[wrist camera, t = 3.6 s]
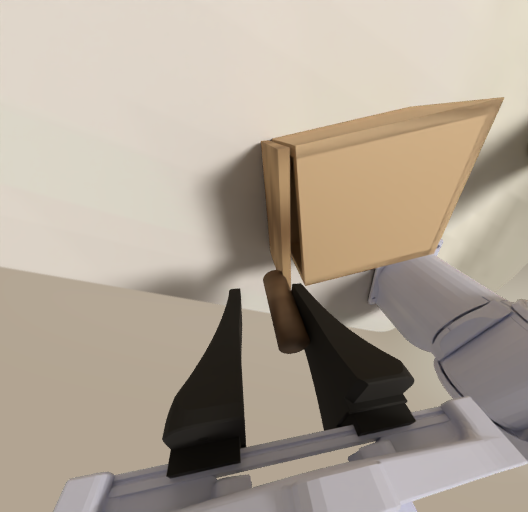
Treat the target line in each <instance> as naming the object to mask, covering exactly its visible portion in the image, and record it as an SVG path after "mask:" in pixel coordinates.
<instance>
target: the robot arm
mask: <svg viewBox="0 0 528 512" xmlns="http://www.w3.org/2000/svg"><path fill="white" fill-rule="evenodd" d="M442 244H443V240H442V239H440V241H439V244H438V246H437V248H436V250H435V253H434V254H430V255H426V256H422V257H418V258H414V259H411V260H407V261H403V262H399V263H395V264H391V265H387V266H383V267H379V268H376V269H375V273H374V278H373V282H372V286H371V291H370V295H369V299H368V303H369V304H370V305H372V304H377V306H378V307H379V308H380V309H381V310H382V312H383V313H384V314H385V315H386V316H387V318H388V319H389V320H390V321H391V322H392V323H393V325H394V326H395V327H396V328H397V329H398V331H399V332H400V333H401V334H402V335H403V337H404V338H406V340H407V341H409V342H410V343H411V344H413V345H414V346H416V347H418V348H420V349H422V350H425V351H427V352H431V353H432V354H433V355H434V356H435V357H436V358H435V359H434V367H435V371H436V373H437V375H438V378H439V380H440V381H441V383H442V385H443V386H444V388H445V389H446V391H447V392H448V393H449V394H450V396H452V398H453V399H452V400H449V401H446V402H445V403H443V404H441V406H439V407H434V408H430V409H425V410H420V411H415V412H410V410H409V409H408V407H407V405H406V404H405V403H406V402H407V400H406V398H405V396H404V395H403V393H404V392H405V391H406V390H407V389H408V388H409V387H411V386H412V385H413V383H414V378H413V377H412V375H411V374H410V373H409V371H408V370H407V368H406V367H405V366H404V365H403V363H402V362H401V361H400V360H398V359H396V358H395V357H393V356H391V355H389V354H387V353H385V352H383V351H382V350H380V349H378V348H377V347H375V346H373V345H372V344H370V343H368V342H367V341H365V340H364V339H362V338H360V337H359V336H358V335H356V334H355V333H353V332H352V331H351V330H349V329H348V328H347V327H345V326H344V325H343V324H342V323H340V322H339V321H338V320H337V319H336V318H334V317H333V316H332V315H331V314H330V313H329V312H328V311H327V310H326V309H325V308H324V307H323V306H322V305H321V304H320V303H319V302H318V301H317V300H316V299H315V298H314V297H313V296H312V295H311V294H310V293H309V292H308V291H307V290H306V288H305V287H304V286H303V285H302V284H301V283H300V284H292V290H291V292H292V295H293V297H294V300H295V303H296V305H297V308H298V310H299V313H300V315H301V318H302V320H303V323H304V326H305V328H306V331H307V333H308V336H309V339H310V344H309V345H308V346H307V347H306V348H305V349H304V350H305V353H306V356H307V360H308V363H309V367H310V371H311V375H312V379H313V382H314V387H315V391H316V395H317V400H318V404H319V409H320V413H321V418H322V423H323V428H324V431H321V432H316V433H312V434H307V435H302V436H298V437H293V438H288V439H283V440H279V441H274V442H269V443H265V444H260V445H255V446H250V447H246V438H245V437H246V436H245V419H244V402H243V385H242V367H241V345H242V344H241V343H242V312H241V293H240V289H231V290H230V291H229V297H228V301H227V305H226V308H225V311H224V314H223V316H222V319H221V321H220V324H219V326H218V328H217V331H216V333H215V335H214V337H213V339H212V341H211V343H210V344H209V346H208V348H207V350H206V352H205V353H204V355H203V357H202V358H201V360H200V362H199V363H198V365H197V366H196V368H195V369H194V371H193V372H192V374H191V375H190V377H189V378H188V380H187V381H186V382H185V384H184V385H183V386H182V388H181V389H180V391H179V392H178V393H177V395H176V396H175V398H174V401H173V403H172V405H171V408H170V410H169V413H168V417H167V420H166V423H165V429H164V433H163V438H162V440H163V442H164V443H165V444H166V445H167V446H168V447H169V448H170V449H171V452H170V458H169V464H165V465H161V466H156V467H151V468H147V469H142V470H137V471H132V472H128V473H123V474H118V475H114V474H112V473H110V472H101V473H95V474H91V475H86V476H81V477H76V478H71V479H70V480H68V481H67V482H66V484H65V486H64V489H63V491H62V493H61V495H60V497H59V500H58V502H57V504H56V506H55V508H54V511H53V512H417V510H416V508H415V506H414V504H413V502H412V501H415V500H418V499H421V498H424V497H427V496H429V495H433V494H436V493H439V492H442V491H444V490H448V489H451V488H453V487H457V486H460V485H463V484H465V483H469V482H471V481H475V480H478V479H481V478H484V477H487V476H490V475H492V474H496V473H499V472H502V471H505V470H509V469H512V468H515V467H519V466H522V465H525V464H528V300H525V299H519V300H517V301H516V302H509V301H507V300H506V299H504V298H503V297H501V296H499V295H498V294H496V293H495V292H493V291H491V290H490V289H488V288H487V287H485V286H483V285H482V284H480V283H479V282H477V281H475V280H474V279H472V278H471V277H469V276H467V275H466V274H464V273H463V272H461V271H459V270H458V269H456V268H455V267H453V266H451V265H450V264H448V263H447V262H445V261H443V260H442V259H440V258H439V257H437V254H438V252H439V250H440V248H441V246H442ZM373 441H376V442H375V443H373V444H370V445H367V446H364V447H361V448H360V449H359V451H357V452H356V453H354V454H352V455H351V456H349V457H348V460H349V462H347V463H343V464H338V465H334V466H329V467H326V468H321V469H318V470H313V471H310V472H306V473H302V474H298V475H295V476H291V477H288V478H284V479H281V480H277V481H274V482H270V483H267V484H263V485H260V486H256V487H253V488H252V482H251V480H250V476H249V475H240V476H232V477H226V478H222V479H219V480H217V479H216V478H218V477H222V476H226V475H230V474H235V473H239V472H244V471H248V470H252V469H257V468H261V467H265V466H270V465H274V464H278V463H283V462H287V461H291V460H295V459H300V458H304V457H308V456H313V455H317V454H321V453H326V452H330V451H335V450H338V449H343V448H348V447H352V446H356V445H361V444H365V443H369V442H373Z"/></svg>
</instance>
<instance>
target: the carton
mask: <svg viewBox="0 0 528 512" xmlns="http://www.w3.org/2000/svg"><path fill="white" fill-rule="evenodd" d="M503 100H504V97H502V98H492V99H482V100H472V101H462V102H452V103H442V104H432V105H423V106H413V107H407V108H403V109H399V110H394V111H390V112H386V113H381V114H377V115H373V116H368V117H364V118H360V119H355V120H351V121H347V122H342V123H338V124H334V125H329V126H325V127H321V128H316V129H312V130H308V131H303V132H299V133H295V134H290V135H286V136H282V137H277V138H273V139H272V142H275V143H278V144H280V145H283V146H286V147H289V148H290V251H291V257H292V259H293V262H294V264H295V266H296V268H297V270H298V272H299V274H300V276H301V278H302V280H303V282H304V284H305V286H307V285H311V284H315V283H319V282H323V281H327V280H331V279H335V278H339V277H343V276H347V275H351V274H355V273H359V272H363V271H367V270H371V269H375V268H379V267H383V266H387V265H391V264H395V263H399V262H403V261H407V260H411V259H414V258H418V257H422V256H426V255H430V254H434V253H435V250H436V248H437V246H438V244H439V241H440V239H441V237H442V235H443V233H444V230H445V228H446V226H447V224H448V222H449V219H450V217H451V215H452V213H453V210H454V208H455V206H456V204H457V202H458V199H459V197H460V195H461V193H462V190H463V188H464V186H465V184H466V182H467V179H468V177H469V175H470V173H471V171H472V168H473V166H474V164H475V162H476V159H477V157H478V155H479V153H480V151H481V148H482V146H483V144H484V142H485V139H486V137H487V135H488V133H489V131H490V128H491V126H492V124H493V122H494V120H495V117H496V115H497V113H498V111H499V108H500V106H501V104H502V102H503Z"/></svg>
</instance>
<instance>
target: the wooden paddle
mask: <svg viewBox="0 0 528 512" xmlns="http://www.w3.org/2000/svg"><path fill="white" fill-rule="evenodd" d="M261 148H262V160H263V171H264V183H265V195H266V207H267V219H268V230H269V242H270V252H271V255H272V258H273V261H274V264H275V267H276V270H273V271H270V272H268V273H267V274H266V275H265V276H264V278H263V282H264V287H265V291H266V295H267V300H268V304H269V308H270V313H271V317H272V321H273V326H274V330H275V334H276V339H277V343H278V347H279V350H280V351H281V352H283V353H287V354H291V353H297V352H299V351H302V350H303V349H305V348H306V347H307V346H308V345H309V344H310V339H309V336H308V333H307V331H306V328H305V326H304V323H303V320H302V318H301V315H300V313H299V310H298V308H297V305H296V303H295V300H294V297H293V295H292V292H291V251H290V148H289V147H286V146H283V145H280V144H278V143H275V142H272V141H269V140H267V141H261Z"/></svg>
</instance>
